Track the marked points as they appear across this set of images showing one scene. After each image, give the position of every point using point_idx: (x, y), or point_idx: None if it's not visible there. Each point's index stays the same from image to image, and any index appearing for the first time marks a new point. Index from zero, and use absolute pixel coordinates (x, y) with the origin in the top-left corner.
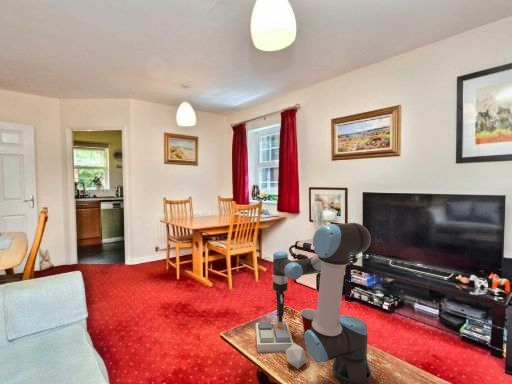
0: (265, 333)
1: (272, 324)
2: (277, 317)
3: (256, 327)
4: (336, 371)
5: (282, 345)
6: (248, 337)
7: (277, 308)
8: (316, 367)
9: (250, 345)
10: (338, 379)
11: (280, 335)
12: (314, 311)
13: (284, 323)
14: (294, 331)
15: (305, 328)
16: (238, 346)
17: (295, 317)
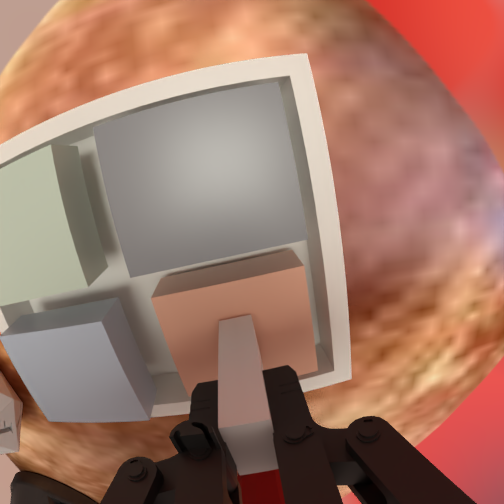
0: (9, 223)
1: (319, 247)
2: (220, 398)
3: (202, 72)
4: (16, 485)
5: None
6: (157, 38)
7: (294, 500)
8: (29, 443)
9: (51, 90)
10: (16, 473)
11: (36, 366)
12: None
13: (335, 362)
14: None
15: (247, 487)
16: (40, 22)
17: (469, 358)
